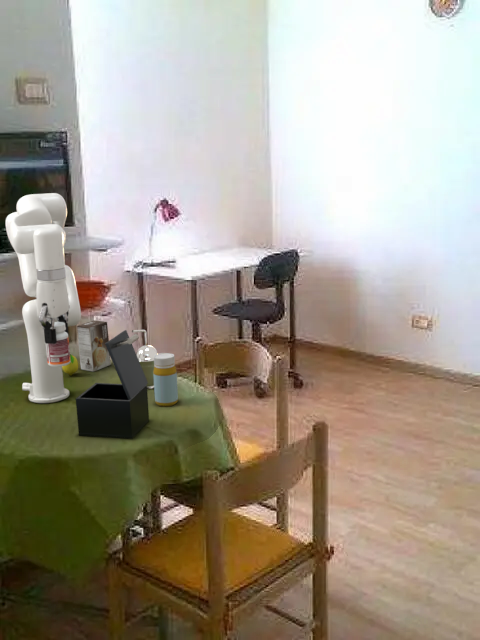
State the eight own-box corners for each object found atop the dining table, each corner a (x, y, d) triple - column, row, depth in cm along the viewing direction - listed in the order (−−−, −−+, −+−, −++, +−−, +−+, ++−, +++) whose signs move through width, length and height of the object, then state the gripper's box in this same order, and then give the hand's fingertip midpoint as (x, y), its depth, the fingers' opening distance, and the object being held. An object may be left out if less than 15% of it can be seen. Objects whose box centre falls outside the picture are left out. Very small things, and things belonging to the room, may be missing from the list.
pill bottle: (75, 363, 213) (71, 323, 210) (55, 368, 209) (51, 328, 206) (63, 359, 217) (59, 320, 214) (43, 364, 213) (39, 324, 210)
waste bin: (78, 435, 213) (75, 398, 211) (98, 418, 226) (95, 382, 224) (132, 439, 210) (129, 401, 207) (149, 420, 223) (147, 385, 220)
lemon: (66, 372, 271) (64, 344, 269) (82, 372, 270) (80, 345, 268) (58, 378, 265) (56, 349, 262) (74, 378, 264) (72, 350, 261)
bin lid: (104, 343, 205) (123, 337, 203) (123, 330, 218) (141, 324, 216) (128, 400, 207) (146, 394, 206) (145, 384, 220) (163, 378, 219)
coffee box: (97, 362, 281) (94, 319, 277) (111, 365, 278) (108, 321, 274) (80, 369, 274) (76, 325, 270) (93, 372, 270) (90, 327, 266)
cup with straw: (164, 388, 250) (161, 328, 246) (137, 392, 247) (133, 331, 243) (158, 381, 258) (154, 322, 253) (131, 384, 255) (127, 325, 250)
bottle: (174, 407, 233) (171, 359, 229) (152, 406, 234) (149, 358, 231) (180, 399, 240) (178, 352, 236) (159, 398, 241) (156, 352, 237)
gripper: (53, 268, 216) (59, 331, 220) (22, 280, 200) (28, 348, 204) (78, 269, 214) (83, 332, 218) (48, 281, 198) (54, 349, 202)
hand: (57, 339), depth 211 cm, fingers closed on pill bottle, 6 cm apart
